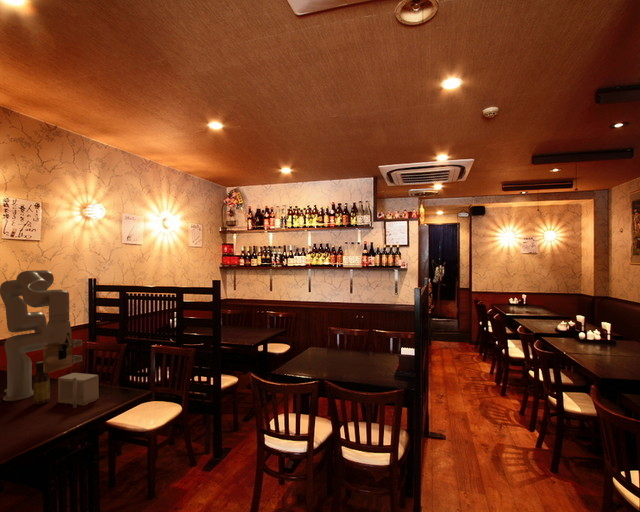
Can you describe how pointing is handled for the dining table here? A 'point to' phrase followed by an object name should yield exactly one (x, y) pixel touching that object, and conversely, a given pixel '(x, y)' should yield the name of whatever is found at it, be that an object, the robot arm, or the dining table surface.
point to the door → (52, 357)
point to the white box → (78, 389)
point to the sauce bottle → (41, 385)
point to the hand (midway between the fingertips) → (59, 358)
